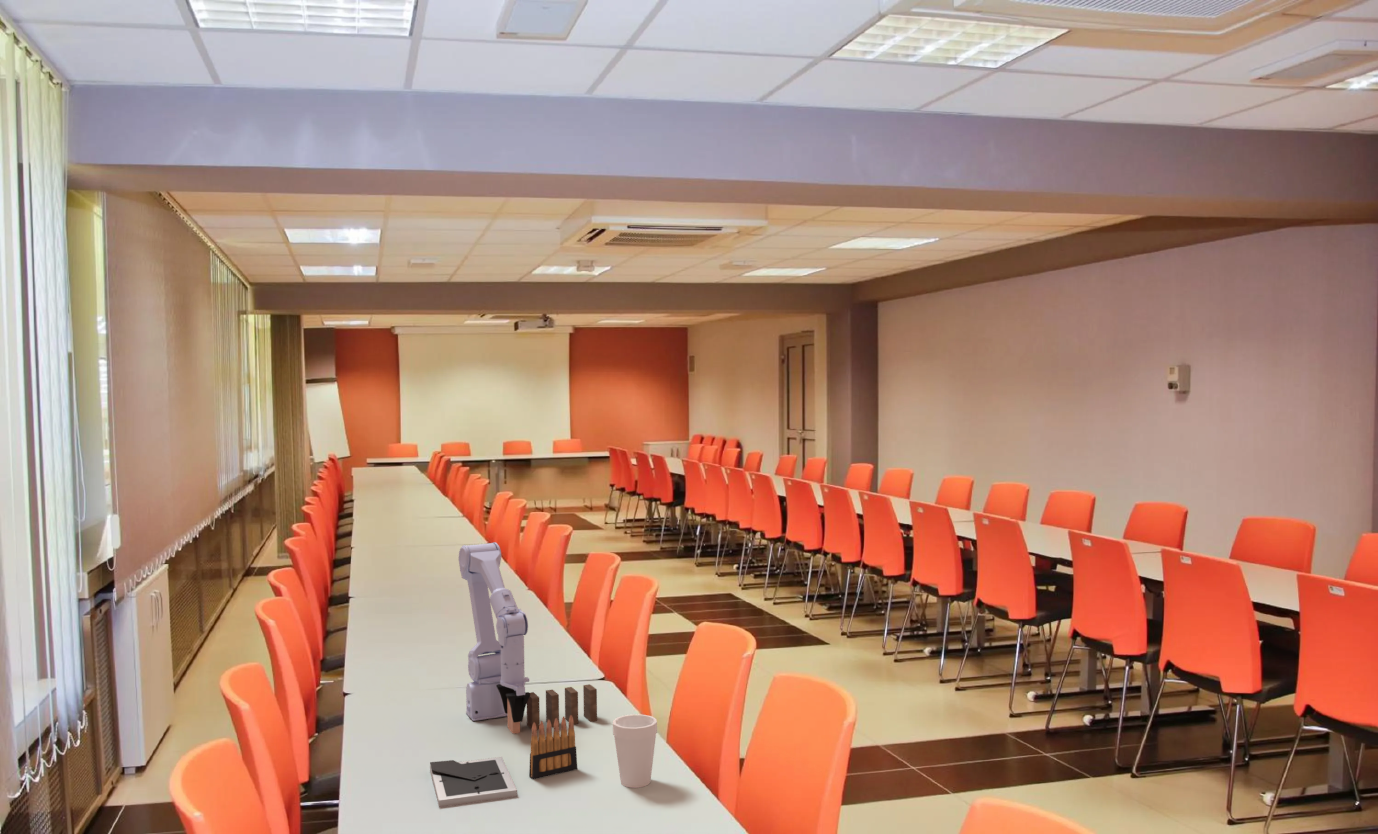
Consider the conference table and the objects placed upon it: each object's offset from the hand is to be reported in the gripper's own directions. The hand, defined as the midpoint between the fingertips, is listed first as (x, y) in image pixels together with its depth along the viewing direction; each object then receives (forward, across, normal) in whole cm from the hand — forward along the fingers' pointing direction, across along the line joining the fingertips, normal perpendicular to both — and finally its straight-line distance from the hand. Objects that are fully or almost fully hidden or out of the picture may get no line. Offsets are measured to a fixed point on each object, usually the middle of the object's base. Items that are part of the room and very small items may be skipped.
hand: (513, 717), depth 253 cm
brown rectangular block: (+3, 0, -5) cm, 6 cm away
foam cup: (+3, -45, -14) cm, 47 cm away
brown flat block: (+3, 0, -20) cm, 20 cm away
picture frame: (+4, -30, +17) cm, 35 cm away
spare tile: (+3, 0, 0) cm, 3 cm away
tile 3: (+3, 0, -10) cm, 10 cm away
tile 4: (+3, 0, -15) cm, 15 cm away
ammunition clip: (+3, -32, 0) cm, 32 cm away
